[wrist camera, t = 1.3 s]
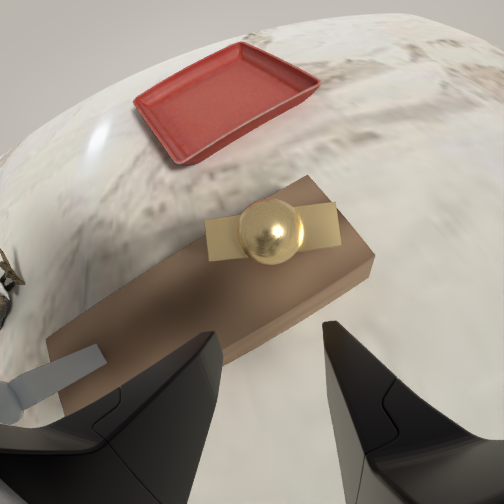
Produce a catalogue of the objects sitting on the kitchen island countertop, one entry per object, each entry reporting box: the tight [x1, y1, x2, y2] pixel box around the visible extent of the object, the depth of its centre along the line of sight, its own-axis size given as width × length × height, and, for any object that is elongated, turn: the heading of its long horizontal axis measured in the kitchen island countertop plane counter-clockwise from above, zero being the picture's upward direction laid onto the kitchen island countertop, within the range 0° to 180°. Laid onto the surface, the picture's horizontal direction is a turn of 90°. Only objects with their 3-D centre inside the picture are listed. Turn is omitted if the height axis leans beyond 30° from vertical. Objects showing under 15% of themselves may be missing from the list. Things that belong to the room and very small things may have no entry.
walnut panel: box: [46, 175, 375, 417], centre depth 22 cm, size 8×26×4 cm, turn 118°
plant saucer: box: [133, 42, 321, 165], centre depth 34 cm, size 18×18×3 cm
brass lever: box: [205, 198, 341, 265], centre depth 15 cm, size 2×5×10 cm, turn 91°
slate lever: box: [0, 344, 107, 425], centre depth 15 cm, size 2×5×10 cm, turn 118°
